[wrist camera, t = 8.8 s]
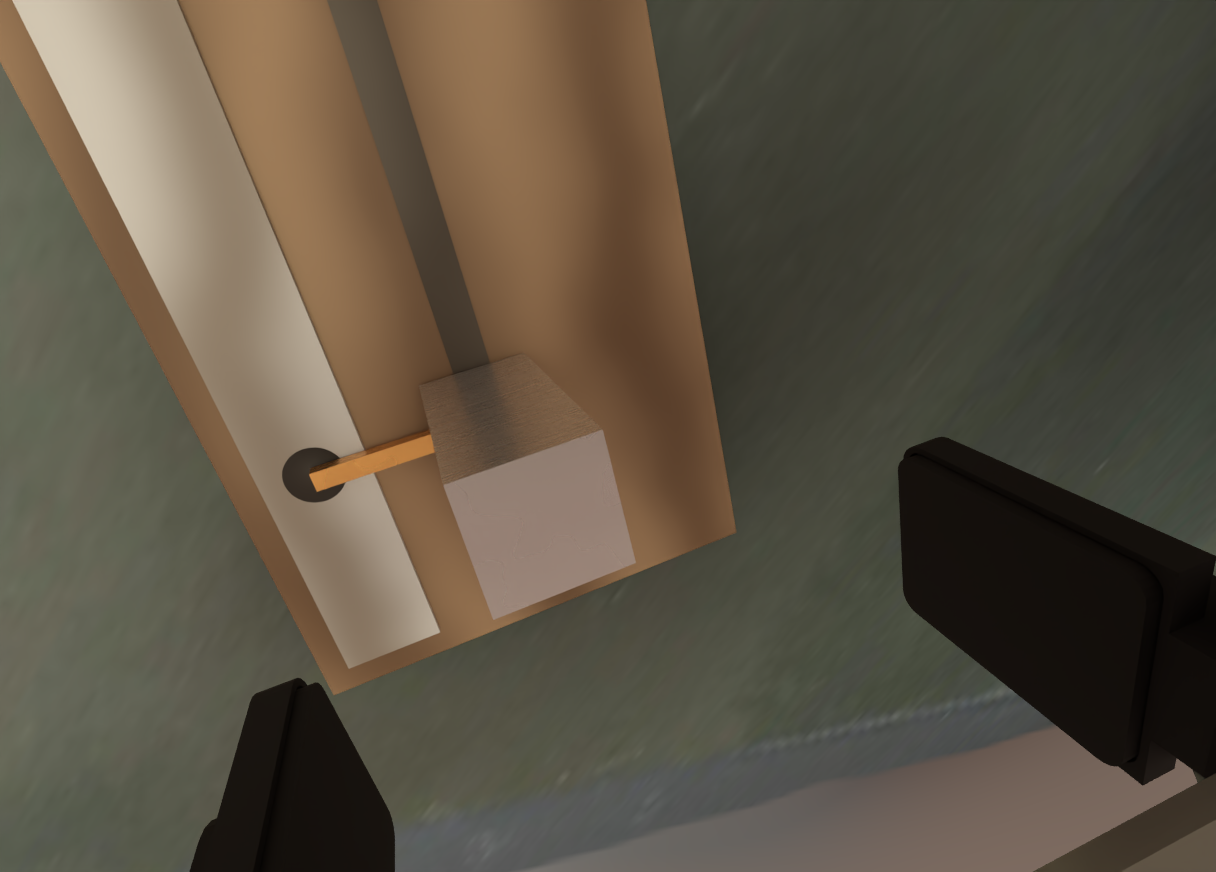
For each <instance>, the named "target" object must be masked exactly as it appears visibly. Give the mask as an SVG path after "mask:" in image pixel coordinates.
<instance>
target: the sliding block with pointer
mask: <svg viewBox="0 0 1216 872" xmlns="http://www.w3.org/2000/svg"><path fill="white" fill-rule="evenodd" d="M419 388H420V392H421V396H422V400H423V404H424V408H425V413H426V417H427V421H428V425H429V430H426V431H423V432H420V433H417V434H413V435H410V436H407V437H404V438H401V439H398V440H395V441H392V442H389V443H386V444H383V445H380V446H377V447H374V448H371V449H368V450H364V451H361V452H358V453H355V454H352V455H349V456H346V457H343V458H340V459H337V460H334V461H331V462H328V463H325V464H322V465H319V466H316V467H312V468H310V472H309V476H310V478H311V480H312V482H313V484H314V487H315V489H316V491H317V492H318V491H321V490H324V489H327V488H330V487H333V486H336V485H339V484H342V483H345V482H348V481H351V480H354V479H357V478H360V477H363V476H366V475H369V474H372V473H375V472H378V471H381V470H384V469H387V468H390V467H393V466H396V465H398V464H401V463H404V462H407V461H410V460H413V459H416V458H419V457H422V456H425V455H428V454H431V453H434V452H435V454H436V458H437V462H438V466H439V470H440V474H441V478H442V483H443V486H444V489H445V492H446V494H447V497H448V500H449V502H450V505H451V508H452V510H453V513H454V516H455V518H456V521H457V524H458V527H459V529H460V532H461V535H462V537H463V540H464V543H465V545H466V548H467V551H468V553H469V556H470V559H471V562H472V564H473V567H474V570H475V572H476V575H477V578H478V580H479V583H480V586H481V588H482V591H483V594H484V596H485V599H486V602H487V605H488V607H489V610H490V613H491V615H492V618H493V620H495V619H497V618H500V617H502V616H505V615H507V614H510V613H512V612H515V611H517V610H520V609H522V608H525V607H527V606H530V605H532V604H535V603H537V602H540V601H542V600H545V599H547V598H550V597H552V596H555V595H557V594H560V593H562V592H565V591H567V590H570V589H572V588H575V587H577V586H580V585H582V584H585V583H587V582H590V581H592V580H595V579H597V578H600V577H602V576H605V575H607V574H610V573H612V572H615V571H617V570H620V569H622V568H624V567H627V566H629V565H632V564H634V563H636V561H635V557H634V553H633V549H632V545H631V541H630V537H629V533H628V529H627V525H626V521H625V517H624V513H623V509H622V505H621V501H620V497H619V493H618V489H617V485H616V481H615V477H614V473H613V469H612V465H611V461H610V457H609V453H608V449H607V445H606V441H605V437H604V433H603V429H602V428H601V427H600V426H599V425H598V424H597V423H595V422H594V421H593V420H592V419H591V418H590V417H589V416H588V415H587V414H586V413H585V412H584V411H583V410H582V409H581V408H580V407H579V406H578V405H577V404H576V403H575V402H574V401H573V400H572V399H571V398H570V397H569V396H568V395H567V394H566V393H565V392H564V391H563V390H562V389H561V388H560V387H559V386H558V385H557V384H556V383H555V382H554V381H553V380H551V379H550V378H549V377H548V376H547V375H546V374H545V373H544V372H543V371H542V370H541V369H540V368H539V367H538V366H537V365H536V364H535V363H534V362H533V361H532V360H531V359H530V358H529V357H528V356H527V355H526V354H525V353H521V354H518V355H515V356H512V357H508V358H505V359H502V360H499V361H496V362H492V363H489V364H486V365H483V366H479V367H476V368H473V369H470V370H467V371H463V372H460V373H457V374H454V375H450V376H447V377H444V378H441V379H438V380H434V381H431V382H428V383H425V384H422V385H419Z"/></svg>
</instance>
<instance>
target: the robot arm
mask: <svg viewBox="0 0 1216 872" xmlns="http://www.w3.org/2000/svg"><path fill="white" fill-rule="evenodd" d="M898 480H899V503H900V527H901V551H902V575H903V592H904V596H905V598H906V600H907V602H908V604H909V606H910V607H911V608H912V609H913V610H914V611H915V612H916V613H917V614H918V615H919V616H921V617H922V618H923V619H924V620H926V621H927V622H928V623H929V624H931V625H932V626H933V627H934V628H936V629H937V630H938V631H939V632H940V633H942V634H943V635H944V636H945V637H947V638H948V639H949V640H950V641H952V642H953V643H954V644H955V645H957V646H958V647H959V648H960V649H962V650H963V651H964V652H965V653H967V654H968V655H969V656H970V657H972V658H973V659H974V660H975V661H977V662H978V663H979V664H980V665H982V666H983V667H984V668H985V669H987V670H988V671H989V672H990V673H992V674H993V675H994V676H995V677H997V678H998V679H999V680H1000V681H1002V682H1003V683H1004V684H1005V685H1007V686H1008V687H1009V688H1010V689H1012V690H1013V691H1014V692H1015V693H1016V694H1018V695H1019V696H1020V697H1021V698H1023V699H1024V700H1025V701H1026V702H1028V703H1029V704H1030V705H1031V706H1033V707H1034V708H1035V709H1036V710H1038V711H1039V712H1040V713H1041V714H1043V715H1044V716H1045V717H1046V718H1048V719H1049V720H1050V721H1051V722H1053V723H1054V724H1055V725H1056V726H1058V727H1059V728H1060V729H1061V730H1063V731H1064V732H1065V733H1066V734H1068V735H1069V736H1070V737H1071V738H1073V739H1074V740H1075V741H1076V742H1078V743H1079V744H1080V745H1081V746H1083V747H1084V748H1085V749H1086V750H1088V751H1089V752H1090V753H1091V754H1092V755H1094V756H1095V757H1096V758H1098V759H1099V760H1101V761H1102V762H1103V763H1106V764H1108V765H1110V766H1119V767H1120V768H1121V769H1123V770H1124V771H1125V772H1127V773H1128V774H1129V775H1130V776H1131V777H1133V778H1134V779H1135V780H1136V781H1138V782H1139V783H1140V784H1141V785H1145V784H1147V783H1148V782H1150V781H1152V780H1154V779H1156V778H1158V777H1160V776H1161V775H1163V774H1165V773H1167V772H1169V771H1171V770H1173V769H1174V768H1175V762H1176V758H1177V759H1179V760H1180V761H1182V762H1183V763H1185V764H1186V765H1187V766H1188V767H1190V768H1191V769H1193V772H1194V774H1195V777H1196V779H1197V782H1198V783H1197V784H1195V785H1193V786H1191V787H1189V788H1188V789H1186V790H1184V791H1182V792H1180V793H1178V794H1176V795H1174V796H1173V797H1171V798H1169V799H1167V800H1165V801H1163V802H1162V803H1160V804H1158V805H1156V806H1154V807H1152V808H1150V809H1149V810H1147V811H1145V812H1143V813H1141V814H1139V815H1137V816H1135V817H1134V818H1132V819H1130V820H1128V821H1126V822H1125V823H1122V824H1121V825H1119V826H1117V827H1115V828H1113V829H1111V830H1110V831H1108V832H1106V833H1104V834H1102V835H1100V836H1099V837H1096V838H1095V839H1093V840H1091V841H1089V842H1087V843H1086V844H1084V845H1082V846H1080V847H1078V848H1076V849H1074V850H1072V851H1070V852H1069V853H1067V854H1065V855H1063V856H1061V857H1060V858H1057V859H1056V860H1054V861H1052V862H1050V863H1048V864H1046V865H1045V866H1043V867H1041V868H1039V869H1037V870H1035V871H1034V872H1216V576H1214V575H1213V571H1214V566H1215V561H1216V556H1215V555H1212V554H1210V553H1208V552H1205V551H1203V550H1201V549H1199V548H1196V547H1194V546H1192V545H1190V544H1187V543H1185V542H1183V541H1180V540H1178V539H1176V538H1174V537H1171V536H1169V535H1167V534H1165V533H1162V532H1160V531H1158V530H1155V529H1153V528H1151V527H1149V526H1146V525H1144V524H1142V523H1140V522H1137V521H1135V520H1133V519H1130V518H1128V517H1126V516H1124V515H1121V514H1119V513H1117V512H1115V511H1112V510H1110V509H1108V508H1106V507H1103V506H1101V505H1099V504H1096V503H1094V502H1092V501H1090V500H1087V499H1085V498H1083V497H1081V496H1078V495H1076V494H1074V493H1071V492H1069V491H1067V490H1065V489H1062V488H1060V487H1058V486H1056V485H1053V484H1051V483H1049V482H1046V481H1044V480H1042V479H1040V478H1037V477H1035V476H1033V475H1031V474H1028V473H1026V472H1024V471H1021V470H1019V469H1017V468H1015V467H1012V466H1010V465H1008V464H1006V463H1003V462H1001V461H999V460H996V459H994V458H992V457H990V456H987V455H985V454H983V453H981V452H978V451H976V450H974V449H972V448H969V447H967V446H965V445H962V444H960V443H958V442H956V441H953V440H951V439H949V438H945V437H938V438H935V439H932V440H929V441H927V442H924V443H921V444H919V445H916V446H913V447H911V448H909V449H908V450H906V452H905V454H904V459H903V460H902V461H901V462H900V464H899V466H898ZM190 872H395V835H394V827H393V822H392V818H391V815H390V812H389V810H388V808H387V806H386V804H385V802H384V800H383V798H382V797H381V795H380V793H379V791H378V789H377V787H376V785H375V784H374V782H373V780H372V778H371V776H370V774H369V772H368V771H367V769H366V767H365V765H364V763H363V761H362V759H361V758H360V756H359V754H358V752H357V750H356V748H355V746H354V745H353V743H352V741H351V739H350V737H349V735H348V733H347V732H346V730H345V728H344V726H343V724H342V722H341V720H340V719H339V717H338V715H337V713H336V711H335V709H334V707H333V706H332V704H331V702H330V700H329V698H328V696H327V694H326V693H325V691H324V689H323V688H322V686H321V685H320V684H319V683H313V684H310V685H308V686H307V684H306V683H305V682H304V681H303V680H302V679H300V678H296V679H293V680H291V681H288V682H285V683H283V684H280V685H277V686H275V687H272V688H269V689H267V690H264V691H261V692H259V693H256V694H255V695H254V696H253V697H252V699H251V701H250V704H249V708H248V711H247V715H246V718H245V722H244V725H243V729H242V732H241V736H240V739H239V743H238V746H237V750H236V753H235V757H234V760H233V764H232V767H231V771H230V774H229V778H228V782H227V785H226V789H225V792H224V796H223V799H222V803H221V806H220V810H219V813H218V817H217V819H214V820H212V821H211V822H210V823H209V824H208V825H207V826H206V827H205V828H204V831H203V833H202V835H201V837H200V840H199V842H198V846H197V849H196V852H195V856H194V859H193V862H192V865H191V869H190Z"/></svg>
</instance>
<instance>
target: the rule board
mask: <svg viewBox="0 0 1216 872" xmlns="http://www.w3.org/2000/svg"><path fill="white" fill-rule="evenodd" d="M0 62H1V64H2V66H3V68H4V70H5V72H6V73H7V75H8V77H9V79H10V81H11V83H12V85H13V87H14V89H15V91H16V92H17V94H18V96H19V98H20V100H21V102H22V104H23V106H24V108H25V110H26V111H27V113H28V115H29V117H30V119H31V121H32V123H33V125H34V127H35V129H36V130H37V132H38V134H39V136H40V138H41V140H42V142H43V144H44V146H45V148H46V149H47V151H48V153H49V155H50V157H51V159H52V161H53V163H54V165H55V167H56V168H57V170H58V172H59V174H60V176H61V178H62V180H63V182H64V184H65V186H66V187H67V189H68V191H69V193H70V195H71V197H72V199H73V201H74V203H75V205H76V206H77V208H78V210H79V212H80V214H81V216H82V218H83V220H84V222H85V224H86V225H87V227H88V229H89V231H90V233H91V235H92V237H93V239H94V241H95V243H96V244H97V246H98V248H99V250H100V252H101V254H102V256H103V258H104V260H105V261H106V263H107V265H108V267H109V269H110V271H111V273H112V275H113V277H114V279H115V280H116V282H117V284H118V286H119V288H120V290H121V292H122V294H123V296H124V298H125V299H126V301H127V303H128V305H129V307H130V309H131V311H132V313H133V315H134V317H135V318H136V320H137V322H138V324H139V326H140V328H141V330H142V332H143V334H144V336H145V337H146V339H147V341H148V343H149V345H150V347H151V349H152V351H153V353H154V355H155V356H156V358H157V360H158V362H159V364H160V366H161V368H162V370H163V372H164V374H165V375H166V377H167V379H168V381H169V383H170V385H171V387H172V389H173V391H174V393H175V394H176V396H177V398H178V400H179V402H180V404H181V406H182V408H183V410H184V412H185V413H186V415H187V417H188V419H189V421H190V423H191V425H192V427H193V429H194V430H195V432H196V434H197V436H198V438H199V440H200V442H201V444H202V446H203V448H204V449H205V451H206V453H207V455H208V457H209V459H210V461H211V463H212V465H213V467H214V468H215V470H216V472H217V474H218V476H219V478H220V480H221V482H222V484H223V486H224V487H225V489H226V491H227V493H228V495H229V497H230V499H231V501H232V503H233V505H234V506H235V508H236V510H237V512H238V514H239V516H240V518H241V520H242V522H243V524H244V525H245V527H246V529H247V531H248V533H249V535H250V537H251V539H252V541H253V543H254V544H255V546H256V548H257V550H258V552H259V554H260V556H261V558H262V560H263V562H264V563H265V565H266V567H267V569H268V571H269V573H270V575H271V577H272V579H273V581H274V582H275V584H276V586H277V588H278V590H279V592H280V594H281V596H282V598H283V600H284V601H285V603H286V605H287V607H288V609H289V611H290V613H291V615H292V617H293V618H294V620H295V622H296V624H297V626H298V628H299V630H300V632H301V634H302V636H303V637H304V639H305V641H306V643H307V645H308V647H309V649H310V651H311V653H312V655H313V656H314V658H315V660H316V662H317V664H318V666H319V668H320V670H321V672H322V674H323V675H324V677H325V679H326V681H327V683H328V685H329V687H330V689H331V691H332V693H333V694H334V695H336V694H338V693H341V692H343V691H346V690H348V689H351V688H353V687H356V686H358V685H360V684H363V683H365V682H368V681H370V680H373V679H375V678H378V677H380V676H383V675H385V674H388V673H390V672H393V671H395V670H398V669H400V668H403V667H405V666H407V665H410V664H412V663H415V662H417V661H420V660H422V659H425V658H427V657H430V656H432V655H435V654H437V653H440V652H442V651H445V650H447V649H450V648H452V647H454V646H457V645H459V644H462V643H464V642H467V641H469V640H472V639H474V638H477V637H479V636H482V635H484V634H487V633H489V632H492V631H494V630H496V629H499V628H501V627H504V626H506V625H509V624H511V623H514V622H516V621H519V620H521V619H524V618H526V617H529V616H531V615H534V614H536V613H539V612H541V611H543V610H546V609H548V608H551V607H553V606H556V605H558V604H561V603H563V602H566V601H568V600H571V599H573V598H576V597H578V596H581V595H583V594H586V593H588V592H590V591H593V590H595V589H598V588H600V587H603V586H605V585H608V584H610V583H613V582H615V581H618V580H620V579H623V578H625V577H628V576H630V575H632V574H635V573H637V572H640V571H642V570H645V569H647V568H650V567H652V566H655V565H657V564H660V563H662V562H665V561H667V560H670V559H672V558H675V557H677V556H679V555H682V554H684V553H687V552H689V551H692V550H694V549H697V548H699V547H702V546H704V545H707V544H709V543H712V542H714V541H717V540H719V539H721V538H724V537H726V536H729V535H731V534H734V533H736V527H735V521H734V515H733V509H732V503H731V497H730V492H729V486H728V480H727V474H726V468H725V462H724V456H723V451H722V445H721V439H720V433H719V427H718V421H717V415H716V409H715V404H714V398H713V392H712V386H711V380H710V374H709V368H708V362H707V357H706V351H705V345H704V339H703V333H702V327H701V321H700V315H699V310H698V304H697V298H696V292H695V286H694V280H693V274H692V269H691V263H690V257H689V251H688V245H687V239H686V233H685V227H684V222H683V216H682V210H681V204H680V198H679V192H678V186H677V180H676V175H675V169H674V163H673V157H672V151H671V145H670V139H669V134H668V128H667V122H666V116H665V110H664V104H663V98H662V92H661V87H660V81H659V75H658V69H657V63H656V57H655V51H654V45H653V40H652V34H651V28H650V22H649V16H648V10H647V4H646V0H0ZM521 353H525V354H526V355H527V356H528V357H529V358H530V359H531V360H532V361H533V362H534V363H535V364H536V365H537V366H538V367H539V368H540V369H541V370H542V371H543V372H544V373H545V374H546V375H547V376H548V377H549V378H550V379H551V380H553V381H554V382H555V383H556V384H557V385H558V386H559V387H560V388H561V389H562V390H563V391H564V392H565V393H566V394H567V395H568V396H569V397H570V398H571V399H572V400H573V401H574V402H575V403H576V404H577V405H578V406H579V407H580V408H581V409H582V410H583V411H584V412H585V413H586V414H587V415H588V416H589V417H590V418H591V419H592V420H593V421H594V422H595V423H597V424H598V425H599V426H600V427H601V428H602V429H603V433H604V437H605V441H606V445H607V449H608V453H609V457H610V461H611V465H612V469H613V473H614V477H615V481H616V485H617V489H618V493H619V497H620V501H621V505H622V509H623V513H624V517H625V521H626V525H627V529H628V533H629V537H630V541H631V545H632V549H633V553H634V557H635V561H636V563H634V564H632V565H629V566H627V567H624V568H622V569H620V570H617V571H615V572H612V573H610V574H607V575H605V576H602V577H600V578H597V579H595V580H592V581H590V582H587V583H585V584H582V585H580V586H577V587H575V588H572V589H570V590H567V591H565V592H562V593H560V594H557V595H555V596H552V597H550V598H547V599H545V600H542V601H540V602H537V603H535V604H532V605H530V606H527V607H525V608H522V609H520V610H517V611H515V612H512V613H510V614H507V615H505V616H502V617H500V618H497V619H495V620H493V618H492V615H491V613H490V610H489V607H488V605H487V602H486V599H485V596H484V594H483V591H482V588H481V586H480V583H479V580H478V578H477V575H476V572H475V570H474V567H473V564H472V562H471V559H470V556H469V553H468V551H467V548H466V545H465V543H464V540H463V537H462V535H461V532H460V529H459V527H458V524H457V521H456V518H455V516H454V513H453V510H452V508H451V505H450V502H449V500H448V497H447V494H446V492H445V489H444V486H443V483H442V478H441V474H440V470H439V466H438V462H437V458H436V454H435V452H434V453H431V454H428V455H425V456H422V457H419V458H416V459H413V460H410V461H407V462H404V463H401V464H398V465H396V466H393V467H390V468H387V469H384V470H381V471H378V472H375V473H372V474H369V475H366V476H363V477H360V478H357V479H354V480H351V481H348V482H345V483H342V484H339V485H336V486H333V487H330V488H327V489H324V490H321V491H318V492H317V491H316V489H315V487H314V484H313V482H312V480H311V478H310V476H309V472H310V468H312V467H316V466H319V465H322V464H325V463H328V462H331V461H334V460H337V459H340V458H343V457H346V456H349V455H352V454H355V453H358V452H361V451H364V450H368V449H371V448H374V447H377V446H380V445H383V444H386V443H389V442H392V441H395V440H398V439H401V438H404V437H407V436H410V435H413V434H417V433H420V432H423V431H426V430H429V425H428V421H427V417H426V413H425V408H424V404H423V400H422V396H421V392H420V388H419V385H422V384H425V383H428V382H431V381H434V380H438V379H441V378H444V377H447V376H450V375H454V374H457V373H460V372H463V371H467V370H470V369H473V368H476V367H479V366H483V365H486V364H489V363H492V362H496V361H499V360H502V359H505V358H508V357H512V356H515V355H518V354H521Z"/></svg>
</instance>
